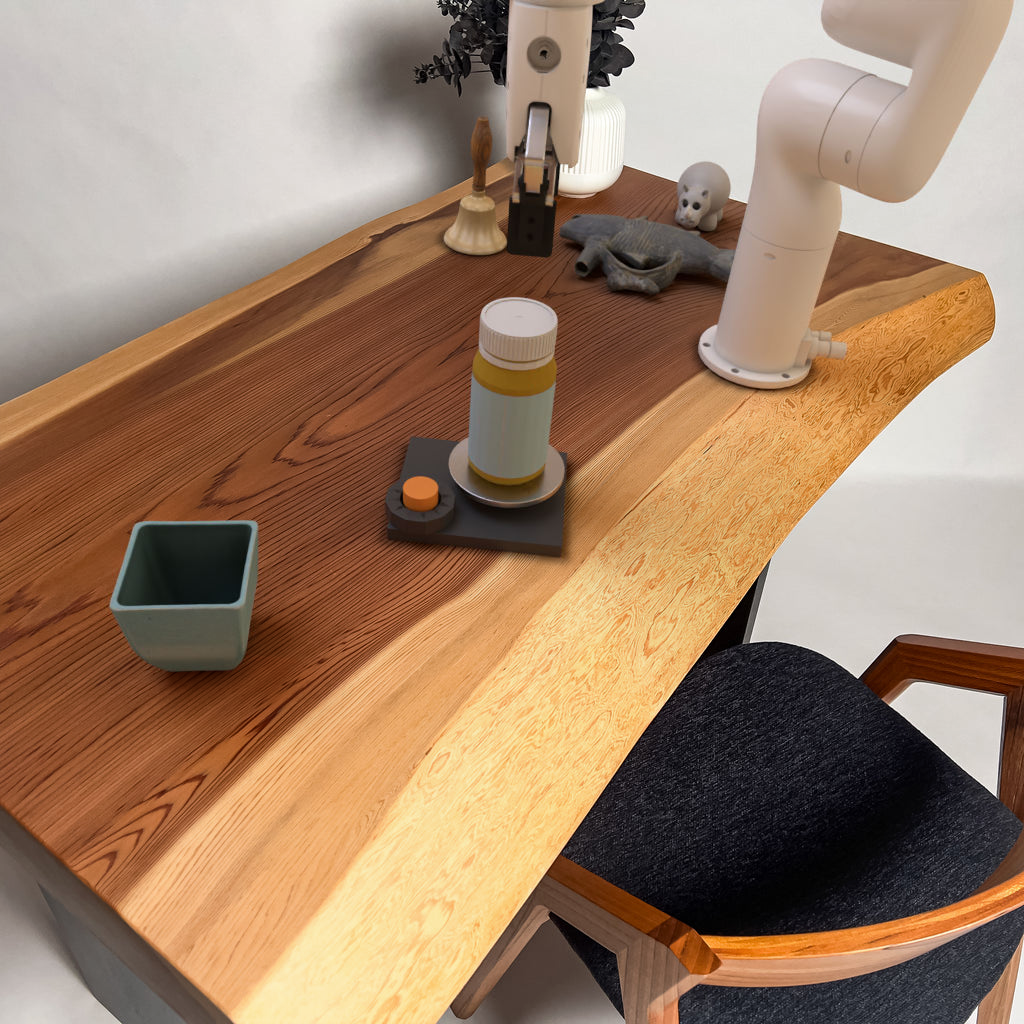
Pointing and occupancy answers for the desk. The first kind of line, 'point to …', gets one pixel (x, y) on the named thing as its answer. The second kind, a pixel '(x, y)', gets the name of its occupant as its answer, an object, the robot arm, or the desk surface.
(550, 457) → the weighing platform
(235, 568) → the flower pot
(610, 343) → the desk surface
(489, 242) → the hand bell
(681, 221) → the round bodied animal figurine
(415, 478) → the tare button
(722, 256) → the grey lumpy piece
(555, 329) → the bottle
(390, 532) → the scale
